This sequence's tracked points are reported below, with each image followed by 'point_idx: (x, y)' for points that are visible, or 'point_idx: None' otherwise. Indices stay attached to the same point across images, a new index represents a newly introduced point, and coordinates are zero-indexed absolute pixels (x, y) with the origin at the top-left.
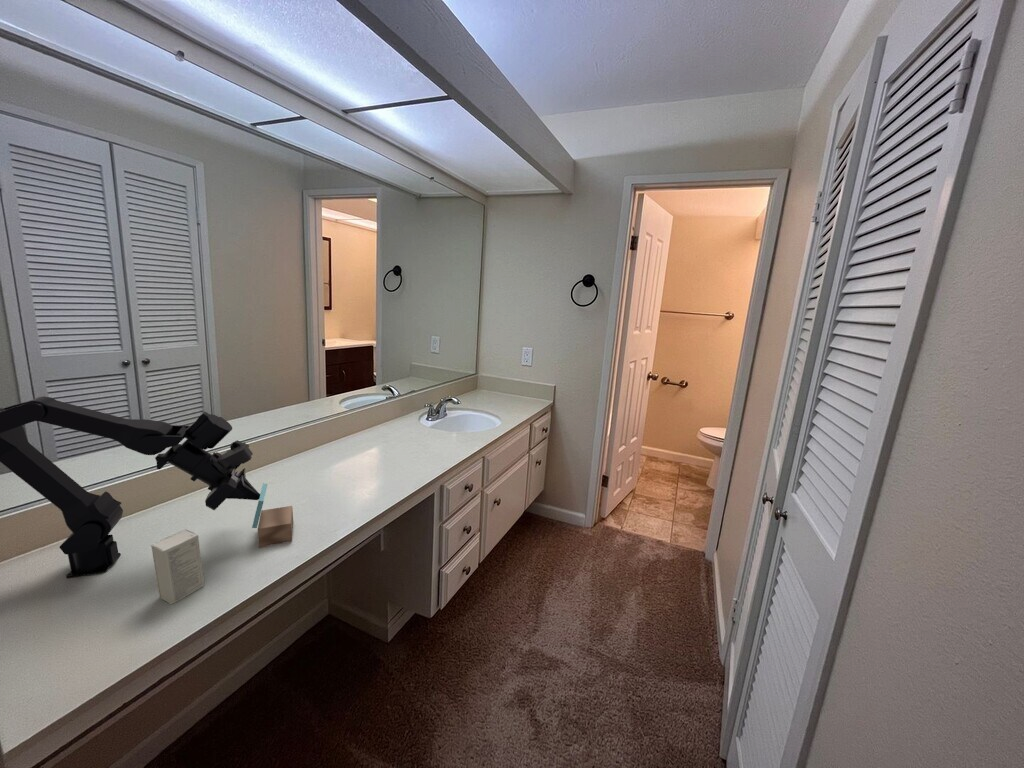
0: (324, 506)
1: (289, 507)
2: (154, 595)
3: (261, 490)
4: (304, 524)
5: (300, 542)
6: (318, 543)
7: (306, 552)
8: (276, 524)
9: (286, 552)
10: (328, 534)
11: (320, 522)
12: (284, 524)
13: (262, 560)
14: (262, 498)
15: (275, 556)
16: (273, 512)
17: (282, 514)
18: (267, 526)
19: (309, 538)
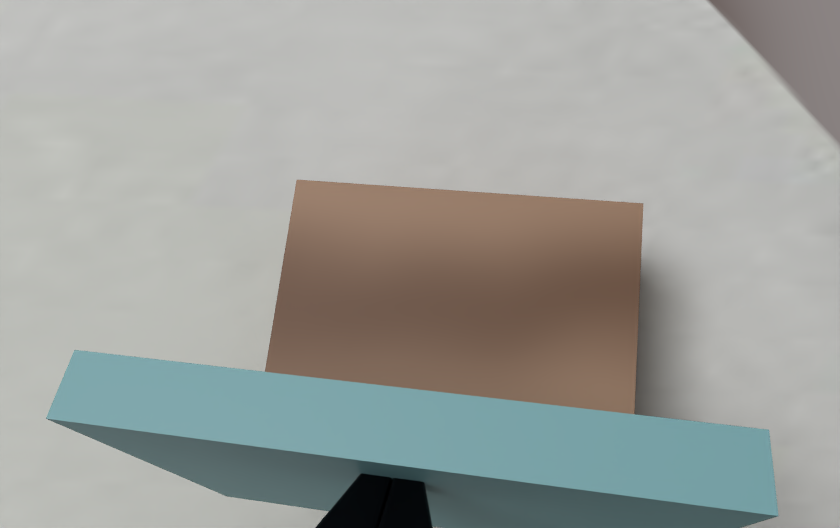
0: (211, 26)
1: (319, 204)
2: None
3: (329, 453)
4: (403, 162)
5: (647, 199)
6: (711, 90)
7: (802, 169)
8: (613, 324)
9: (748, 294)
10: (616, 25)
11: (426, 62)
12: (639, 257)
13: (796, 459)
14: (661, 447)
15: (775, 369)
16: (349, 343)
17: (431, 266)
18: (618, 405)
19: (617, 141)
